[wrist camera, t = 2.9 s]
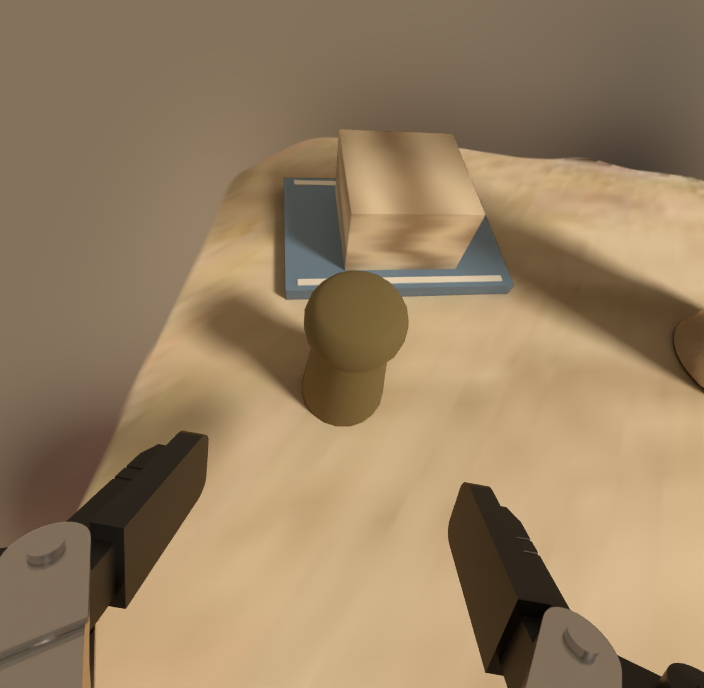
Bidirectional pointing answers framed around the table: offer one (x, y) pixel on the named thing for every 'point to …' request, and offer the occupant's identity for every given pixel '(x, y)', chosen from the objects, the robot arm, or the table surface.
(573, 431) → the table surface
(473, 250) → the board
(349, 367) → the cork
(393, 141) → the maple pedestal
